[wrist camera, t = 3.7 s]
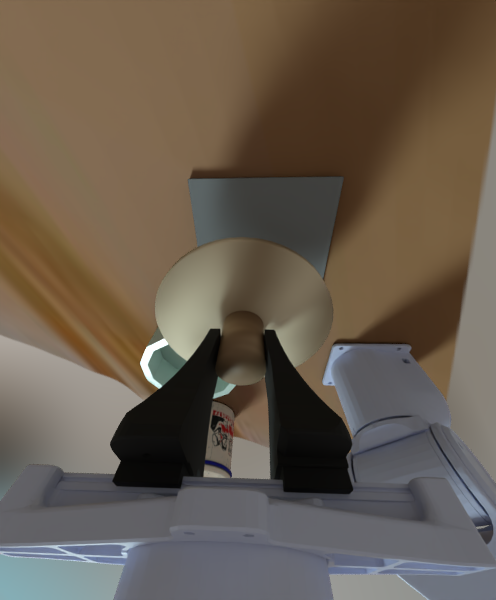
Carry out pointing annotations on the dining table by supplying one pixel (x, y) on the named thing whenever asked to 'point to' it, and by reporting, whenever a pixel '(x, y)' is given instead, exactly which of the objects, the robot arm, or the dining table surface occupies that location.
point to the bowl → (169, 364)
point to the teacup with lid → (219, 442)
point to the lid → (244, 304)
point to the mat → (269, 212)
